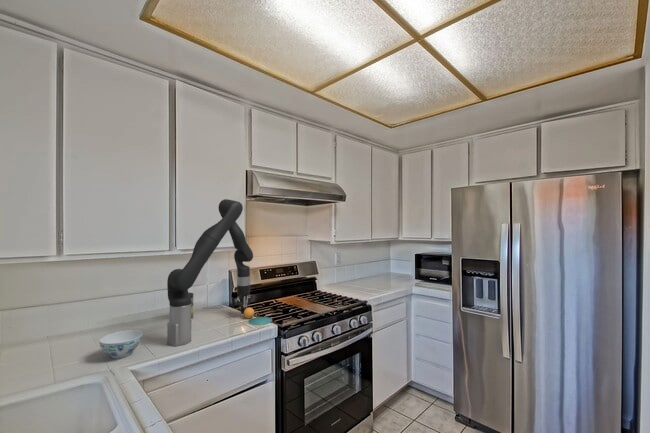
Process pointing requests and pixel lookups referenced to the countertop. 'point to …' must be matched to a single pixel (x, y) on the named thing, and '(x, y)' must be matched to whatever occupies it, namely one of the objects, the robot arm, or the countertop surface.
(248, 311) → the ball
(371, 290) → the countertop surface
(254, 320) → the disc
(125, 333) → the chinaware
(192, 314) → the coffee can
